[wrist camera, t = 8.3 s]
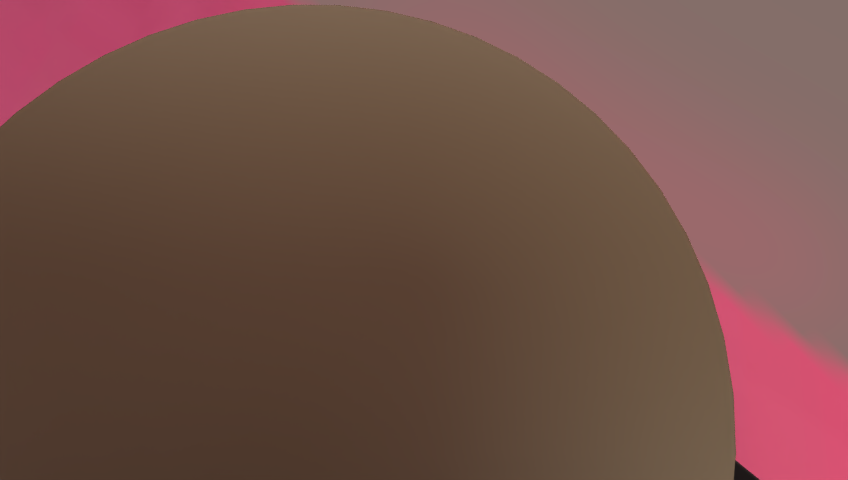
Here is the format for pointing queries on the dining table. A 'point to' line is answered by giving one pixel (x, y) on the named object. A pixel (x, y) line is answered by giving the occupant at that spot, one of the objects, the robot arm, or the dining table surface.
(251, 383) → the keyed peg
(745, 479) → the robot arm
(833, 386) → the dining table surface
